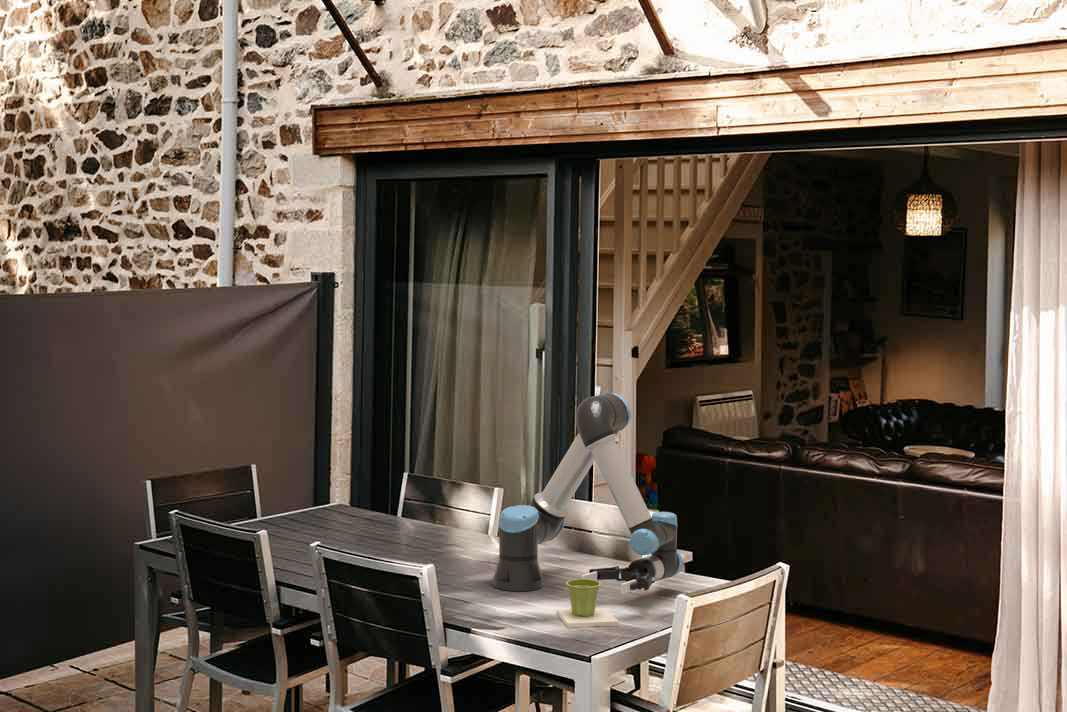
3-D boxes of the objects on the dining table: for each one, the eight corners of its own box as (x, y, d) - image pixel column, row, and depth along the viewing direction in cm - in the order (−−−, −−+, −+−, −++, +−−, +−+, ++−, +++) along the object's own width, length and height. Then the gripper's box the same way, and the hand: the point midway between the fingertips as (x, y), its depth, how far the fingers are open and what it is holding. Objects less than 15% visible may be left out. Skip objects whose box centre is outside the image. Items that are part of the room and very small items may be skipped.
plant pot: (578, 620, 336) (579, 588, 335) (559, 612, 344) (559, 581, 343) (606, 615, 341) (607, 584, 340) (586, 607, 349) (587, 577, 348)
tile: (556, 613, 347) (556, 609, 346) (605, 611, 349) (605, 607, 349) (567, 627, 333) (567, 623, 333) (618, 625, 336) (618, 621, 336)
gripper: (681, 591, 354) (638, 606, 338) (610, 576, 370) (566, 590, 354) (681, 565, 354) (639, 578, 337) (610, 551, 369) (566, 564, 353)
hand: (601, 584), depth 345 cm, fingers open, 13 cm apart
